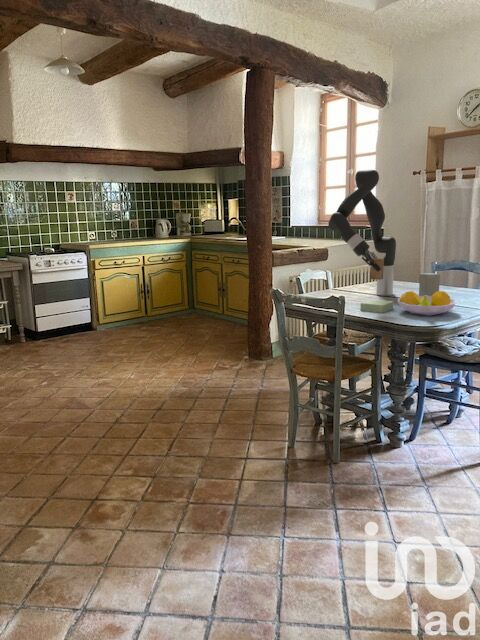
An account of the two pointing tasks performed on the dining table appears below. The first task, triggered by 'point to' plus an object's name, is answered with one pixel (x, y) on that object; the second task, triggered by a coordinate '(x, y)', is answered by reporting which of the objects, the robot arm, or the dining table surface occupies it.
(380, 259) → the walnut block
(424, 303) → the fruit bowl
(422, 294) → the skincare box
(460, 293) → the dining table surface
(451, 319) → the dining table surface
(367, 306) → the sage platform block
